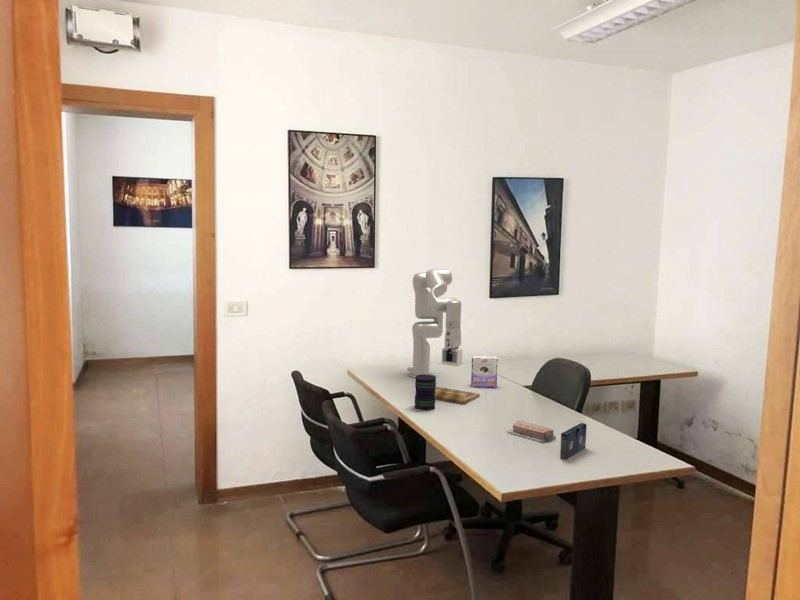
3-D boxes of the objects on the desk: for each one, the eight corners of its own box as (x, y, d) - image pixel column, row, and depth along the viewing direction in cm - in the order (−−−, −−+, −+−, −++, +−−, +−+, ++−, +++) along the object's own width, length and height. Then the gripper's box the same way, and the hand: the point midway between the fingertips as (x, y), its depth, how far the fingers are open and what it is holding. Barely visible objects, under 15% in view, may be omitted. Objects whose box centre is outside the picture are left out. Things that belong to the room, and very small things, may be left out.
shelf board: (421, 396, 327) (421, 388, 327) (437, 389, 343) (438, 381, 342) (464, 404, 315) (464, 395, 314) (479, 396, 330) (479, 388, 330)
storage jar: (436, 410, 303) (437, 379, 302) (415, 410, 303) (416, 379, 301) (434, 404, 313) (435, 374, 312) (413, 404, 313) (414, 374, 311)
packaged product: (557, 427, 268) (544, 433, 261) (556, 439, 268) (543, 444, 261) (520, 417, 280) (506, 422, 273) (519, 428, 281) (506, 433, 274)
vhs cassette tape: (579, 446, 259) (581, 422, 258) (586, 448, 257) (588, 424, 256) (558, 458, 245) (559, 432, 244) (565, 460, 243) (567, 434, 242)
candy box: (496, 385, 354) (497, 356, 352) (496, 388, 348) (498, 358, 346) (470, 384, 355) (471, 355, 354) (470, 387, 350) (472, 357, 348)
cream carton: (457, 366, 322) (457, 350, 321) (441, 364, 327) (441, 348, 326) (461, 364, 327) (462, 349, 326) (446, 362, 331) (446, 346, 330)
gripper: (452, 327, 315) (450, 364, 317) (467, 323, 330) (465, 358, 332) (438, 325, 319) (437, 362, 321) (453, 322, 334) (452, 356, 336)
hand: (451, 359), depth 327 cm, fingers closed on cream carton, 5 cm apart
